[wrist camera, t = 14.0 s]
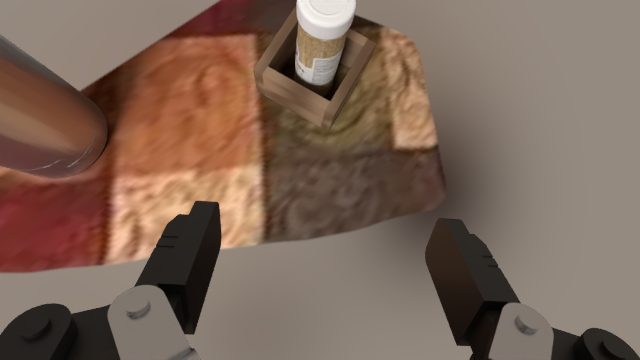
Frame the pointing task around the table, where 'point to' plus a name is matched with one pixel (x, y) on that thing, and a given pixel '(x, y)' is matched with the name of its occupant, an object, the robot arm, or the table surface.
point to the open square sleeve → (295, 94)
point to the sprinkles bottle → (321, 41)
